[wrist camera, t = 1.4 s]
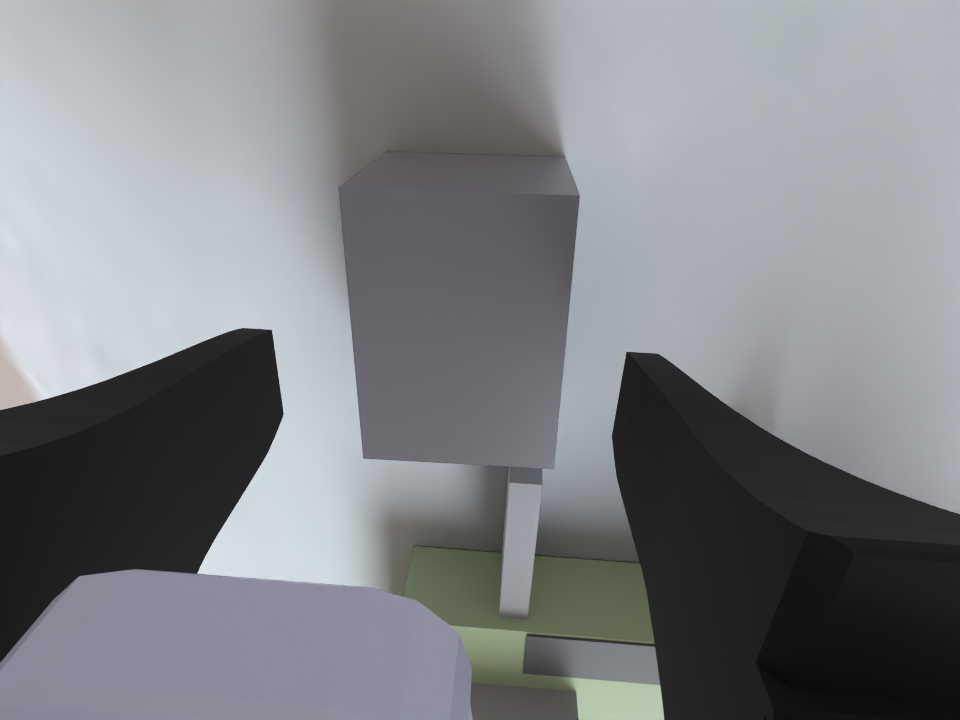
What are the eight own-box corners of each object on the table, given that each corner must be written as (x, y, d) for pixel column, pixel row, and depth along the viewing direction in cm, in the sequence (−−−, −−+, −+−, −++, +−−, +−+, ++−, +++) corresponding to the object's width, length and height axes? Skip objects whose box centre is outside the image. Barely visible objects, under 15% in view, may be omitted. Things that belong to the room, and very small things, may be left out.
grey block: (564, 156, 17) (579, 195, 12) (547, 375, 20) (553, 469, 15) (387, 150, 17) (338, 187, 12) (398, 367, 20) (363, 458, 16)
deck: (774, 444, 20) (860, 581, 15) (675, 743, 29) (709, 899, 23) (411, 419, 21) (374, 544, 16) (417, 720, 29) (394, 867, 24)
